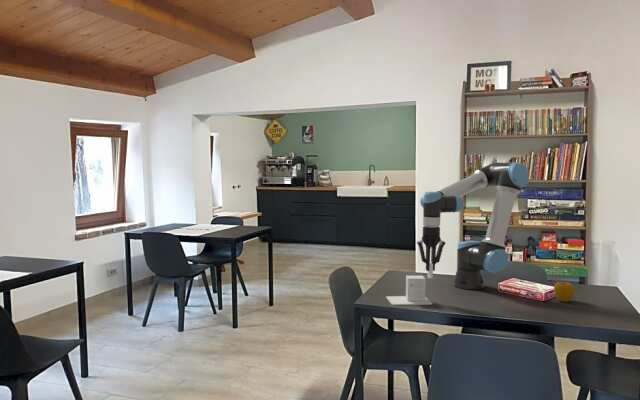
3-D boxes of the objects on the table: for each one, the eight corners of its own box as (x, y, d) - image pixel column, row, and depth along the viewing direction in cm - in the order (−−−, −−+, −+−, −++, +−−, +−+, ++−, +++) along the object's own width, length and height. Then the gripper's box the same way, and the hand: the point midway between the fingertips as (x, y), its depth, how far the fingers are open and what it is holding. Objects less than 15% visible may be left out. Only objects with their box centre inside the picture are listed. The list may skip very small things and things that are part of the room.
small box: (422, 298, 218) (423, 275, 217) (425, 301, 212) (426, 278, 212) (405, 297, 218) (405, 275, 217) (407, 301, 212) (408, 278, 212)
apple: (573, 299, 219) (574, 280, 218) (575, 304, 211) (576, 285, 210) (553, 297, 222) (554, 278, 222) (553, 302, 215) (554, 283, 214)
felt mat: (424, 297, 222) (424, 295, 222) (432, 304, 210) (432, 303, 210) (386, 297, 220) (386, 296, 220) (392, 305, 208) (392, 304, 208)
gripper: (442, 225, 218) (441, 275, 219) (414, 225, 216) (413, 276, 218) (448, 227, 210) (446, 279, 212) (419, 227, 209) (418, 280, 211)
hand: (430, 277), depth 215 cm, fingers closed
